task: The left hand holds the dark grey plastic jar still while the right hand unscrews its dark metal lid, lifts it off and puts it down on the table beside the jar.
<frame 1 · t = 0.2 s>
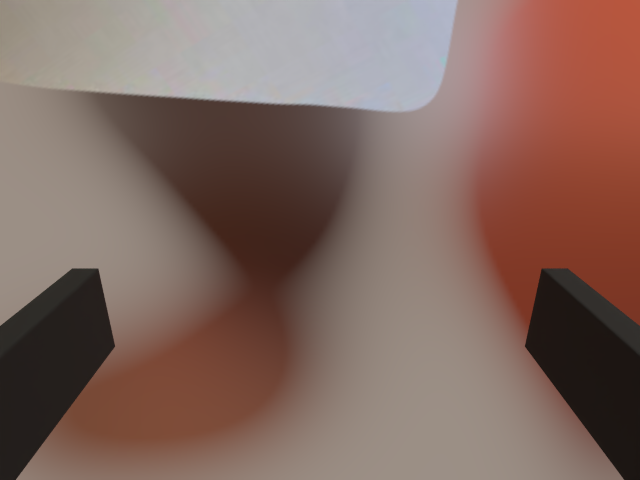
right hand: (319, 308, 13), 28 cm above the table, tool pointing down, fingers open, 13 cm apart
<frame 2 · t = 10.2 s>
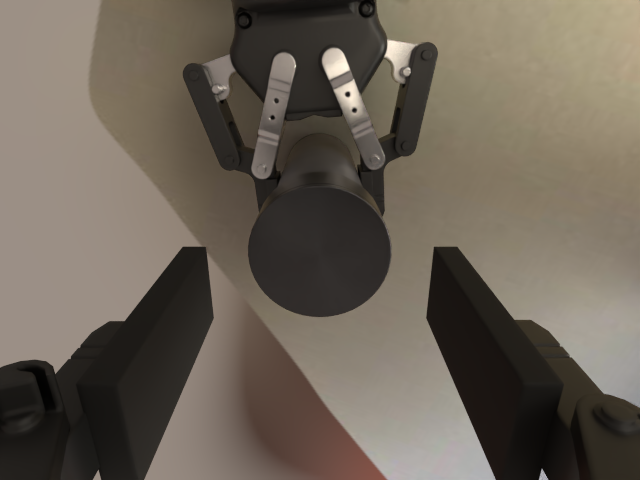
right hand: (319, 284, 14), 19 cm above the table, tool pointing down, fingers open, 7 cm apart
left hand: (323, 227, 27), fingers closed on jar, 5 cm apart
jar: (320, 166, 32), on the table, touching left hand
lid: (319, 252, 17), point 16 cm above the table, screwed on, not yet turned
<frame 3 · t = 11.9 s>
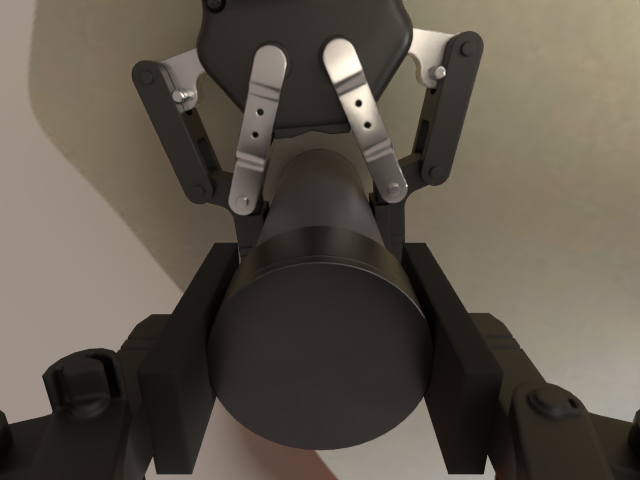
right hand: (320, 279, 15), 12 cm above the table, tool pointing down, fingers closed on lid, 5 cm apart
left hand: (325, 273, 21), fingers closed on jar, 5 cm apart
jar: (320, 190, 26), on the table, touching left hand
lid: (320, 356, 11), point 16 cm above the table, screwed on, not yet turned, touching right hand
when the right hand's fingers open (12 cm above the table, at t = 13.4 s): lid stays where it is, point 16 cm above the table.
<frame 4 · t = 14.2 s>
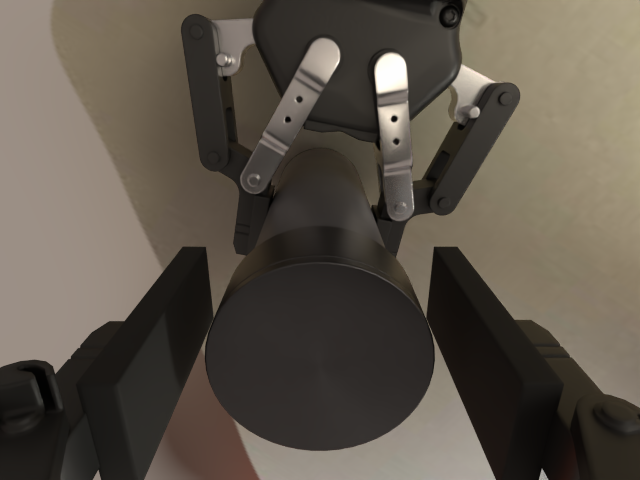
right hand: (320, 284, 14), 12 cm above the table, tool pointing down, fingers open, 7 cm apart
left hand: (310, 270, 21), fingers closed on jar, 5 cm apart
jar: (320, 188, 26), on the table, touching left hand
lid: (319, 357, 11), point 16 cm above the table, turned 109° so far, risen 0.3 cm, still on its thread
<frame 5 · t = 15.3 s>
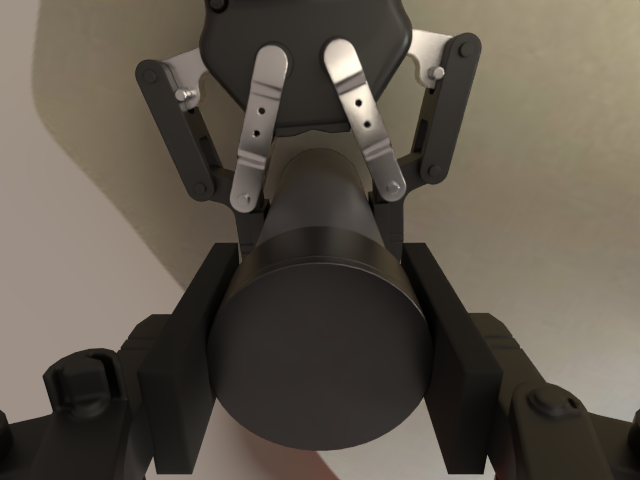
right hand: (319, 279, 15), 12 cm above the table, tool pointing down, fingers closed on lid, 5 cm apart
left hand: (324, 271, 21), fingers closed on jar, 5 cm apart
jar: (320, 188, 26), on the table, touching left hand
lid: (320, 357, 11), point 16 cm above the table, turned 109° so far, risen 0.3 cm, still on its thread, touching right hand
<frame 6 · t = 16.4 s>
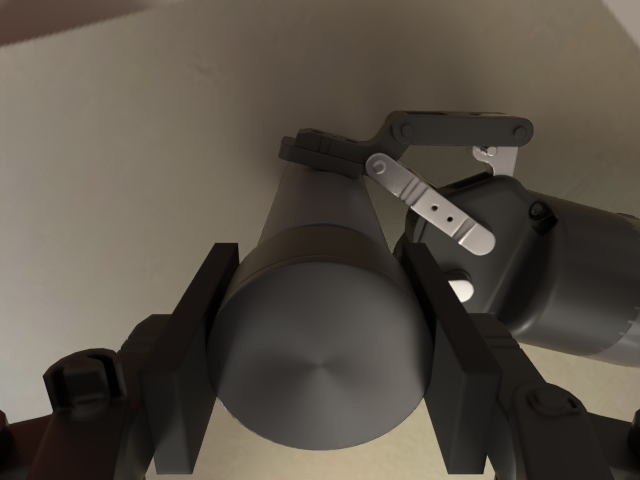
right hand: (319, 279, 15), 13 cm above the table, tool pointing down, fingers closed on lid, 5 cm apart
left hand: (269, 203, 20), fingers closed on jar, 5 cm apart
jar: (322, 184, 26), on the table, touching left hand
lid: (320, 357, 11), point 17 cm above the table, off its thread, touching right hand
when the right hand's fingers open (0 cm above the table, at t = 23.4 s): lid drops 2 cm, point 2 cm above the table.
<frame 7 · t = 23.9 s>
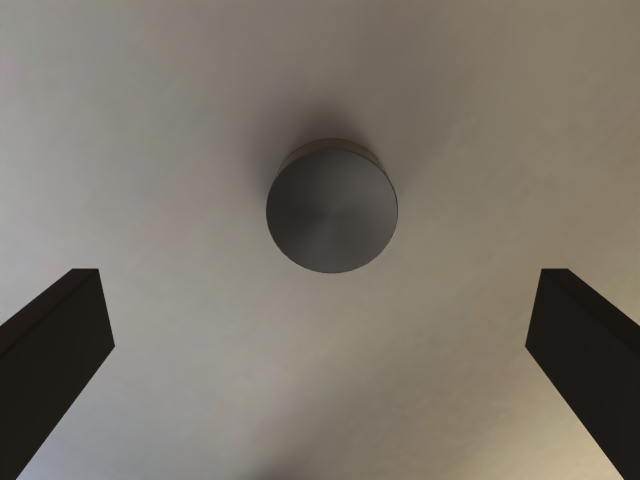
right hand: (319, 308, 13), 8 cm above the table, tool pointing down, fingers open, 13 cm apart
lid: (331, 212, 18), point 2 cm above the table, off its thread
when the left hand's fingers open (6 cm above the table, at t = 24.1 s): jar stays where it is, on the table.
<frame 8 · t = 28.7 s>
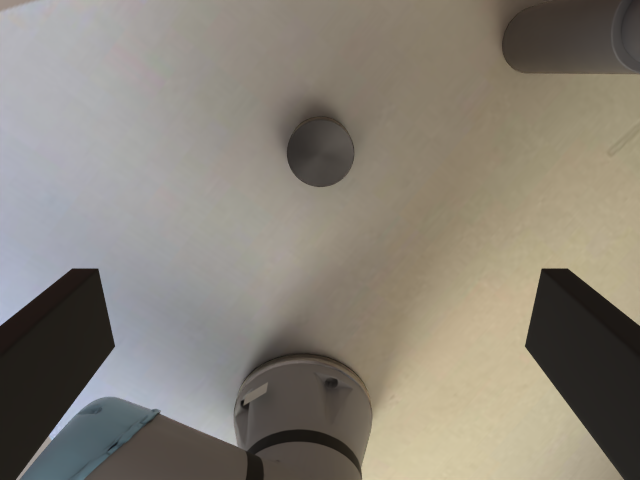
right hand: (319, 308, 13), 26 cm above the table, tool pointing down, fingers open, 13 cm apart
jar: (533, 40, 34), on the table
lid: (320, 153, 35), point 2 cm above the table, off its thread
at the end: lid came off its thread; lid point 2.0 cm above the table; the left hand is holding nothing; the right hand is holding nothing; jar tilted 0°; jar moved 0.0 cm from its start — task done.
